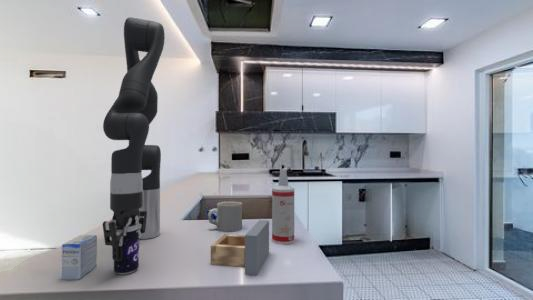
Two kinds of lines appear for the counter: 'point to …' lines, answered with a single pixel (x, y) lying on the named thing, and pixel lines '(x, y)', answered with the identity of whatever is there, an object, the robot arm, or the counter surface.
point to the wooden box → (229, 250)
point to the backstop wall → (256, 247)
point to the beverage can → (129, 252)
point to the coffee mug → (227, 216)
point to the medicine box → (79, 256)
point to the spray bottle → (283, 211)
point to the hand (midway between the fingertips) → (126, 255)
